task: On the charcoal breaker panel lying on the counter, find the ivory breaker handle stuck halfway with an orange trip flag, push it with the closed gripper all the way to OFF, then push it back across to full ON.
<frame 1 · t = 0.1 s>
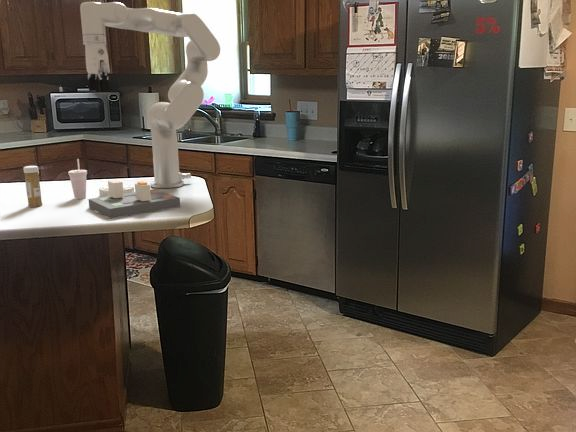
hand: (98, 91, 216), 37 cm above the table, tool pointing down, fingers open, 9 cm apart
sprinkles bottle: (35, 206, 209), on the table
breaker panel: (134, 207, 205), on the table
tripped breaker: (142, 190, 200), point 6 cm above the table, slide at 5.0 cm
smoothie: (80, 198, 220), on the table
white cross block: (117, 196, 224), on the table
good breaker: (115, 189, 205), point 6 cm above the table, slide at 10.0 cm
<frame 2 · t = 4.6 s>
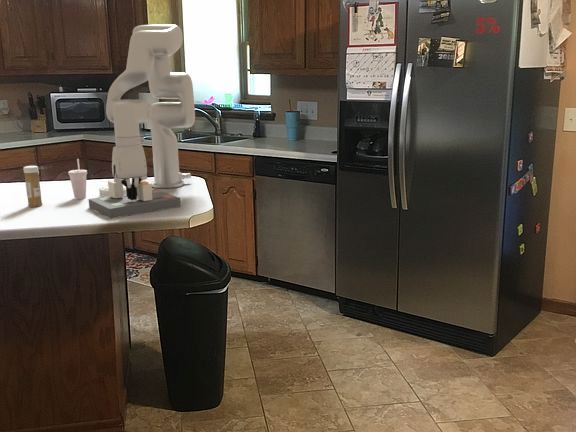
hand: (132, 199, 198), 4 cm above the table, tool pointing down, fingers closed
tripped breaker: (144, 190, 200), point 6 cm above the table, slide at 4.5 cm, touching gripper
everything else where it was.
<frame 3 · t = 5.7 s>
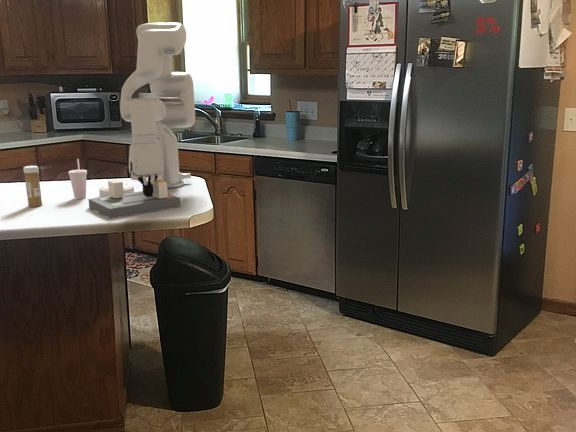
hand: (148, 196, 201), 4 cm above the table, tool pointing down, fingers closed
tripped breaker: (159, 188, 203), point 6 cm above the table, slide at -1.0 cm, touching gripper
everything else where it was.
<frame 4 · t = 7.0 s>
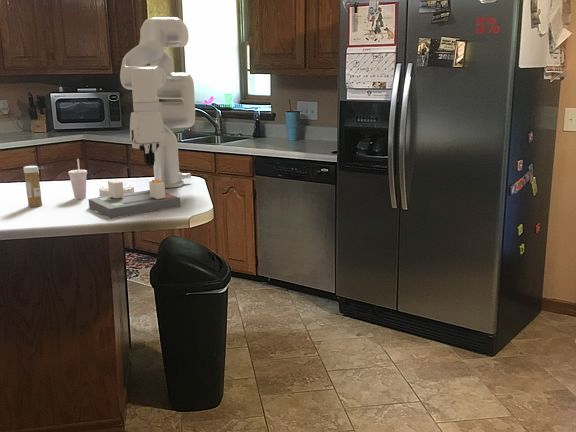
hand: (149, 164, 200), 14 cm above the table, tool pointing down, fingers closed
tripped breaker: (157, 188, 203), point 6 cm above the table, slide at -0.1 cm
everything else where it was.
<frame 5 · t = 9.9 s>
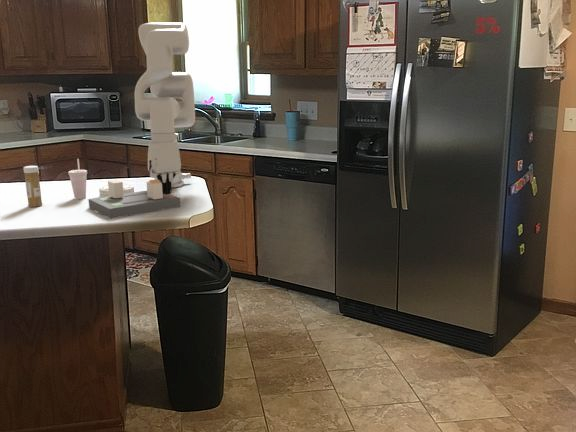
hand: (166, 193, 205), 4 cm above the table, tool pointing down, fingers closed
tripped breaker: (154, 189, 202), point 6 cm above the table, slide at 0.9 cm, touching gripper
everything else where it was.
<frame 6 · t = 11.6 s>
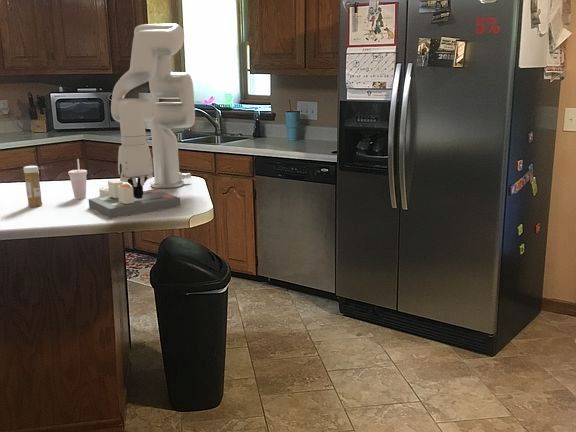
hand: (138, 197, 199), 4 cm above the table, tool pointing down, fingers closed
tripped breaker: (125, 193, 196), point 6 cm above the table, slide at 10.8 cm, touching gripper
everything else where it was.
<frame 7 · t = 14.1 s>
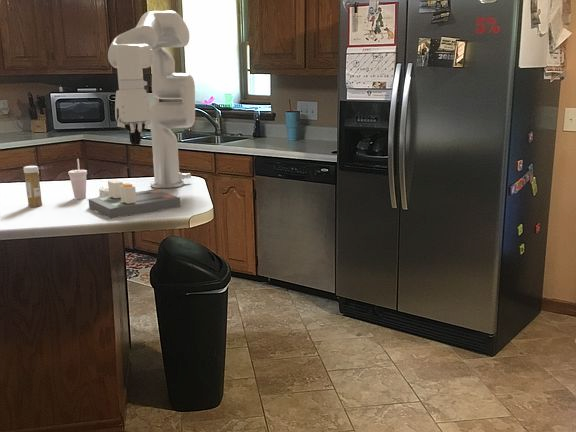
hand: (135, 144, 197), 21 cm above the table, tool pointing down, fingers closed
tripped breaker: (127, 193, 197), point 6 cm above the table, slide at 10.1 cm
everything else where it was.
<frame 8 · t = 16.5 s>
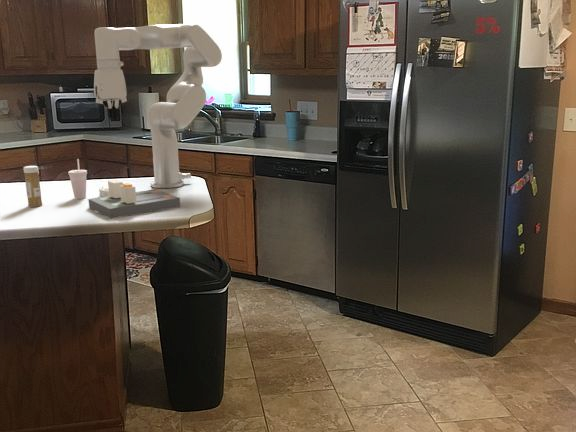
hand: (113, 119, 215), 27 cm above the table, tool pointing down, fingers closed
nothing on the table moved.
at the end: tripped breaker slide at 10.1 cm; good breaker slide at 10.0 cm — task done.
